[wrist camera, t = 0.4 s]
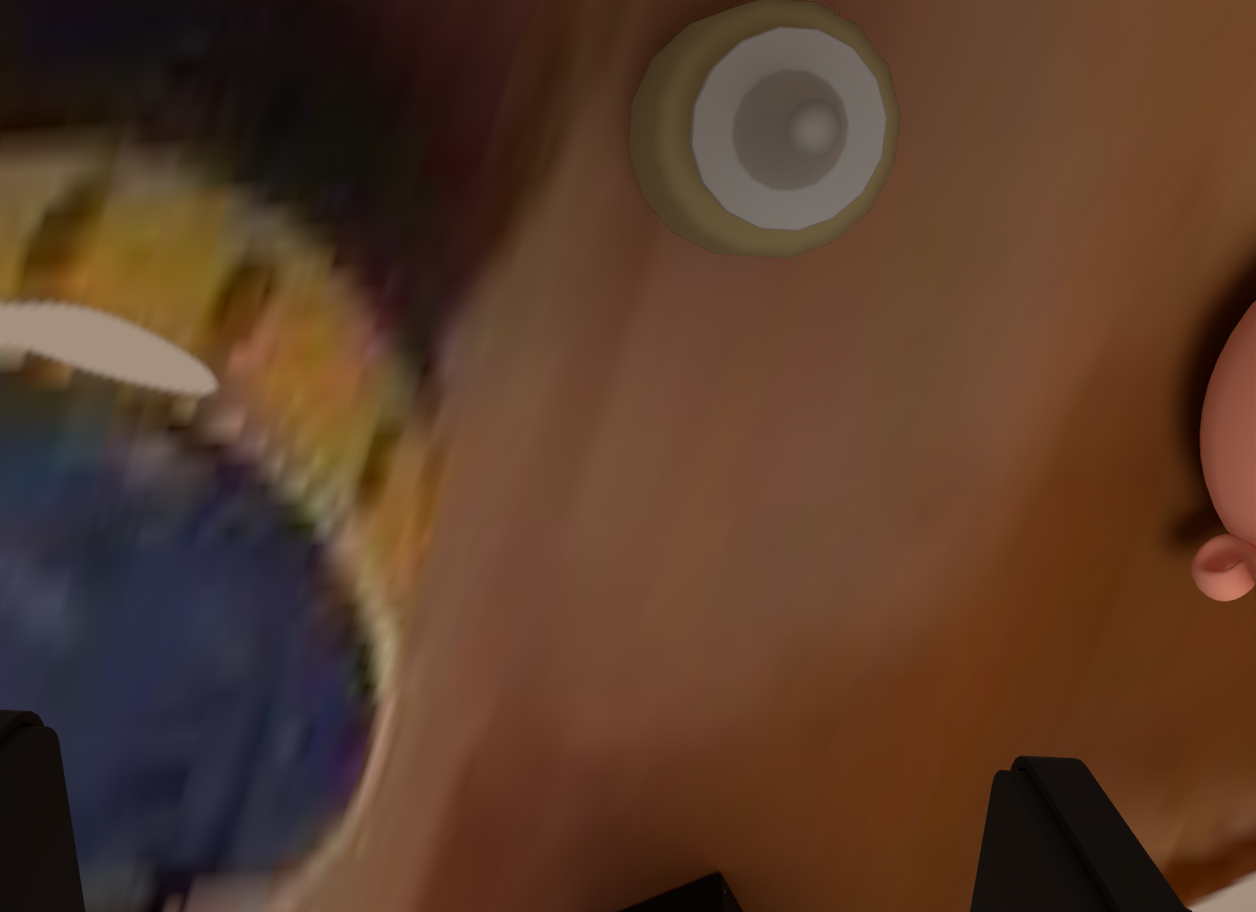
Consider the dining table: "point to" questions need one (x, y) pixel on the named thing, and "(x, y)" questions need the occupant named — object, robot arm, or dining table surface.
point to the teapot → (1230, 467)
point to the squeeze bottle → (764, 129)
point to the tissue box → (695, 899)
